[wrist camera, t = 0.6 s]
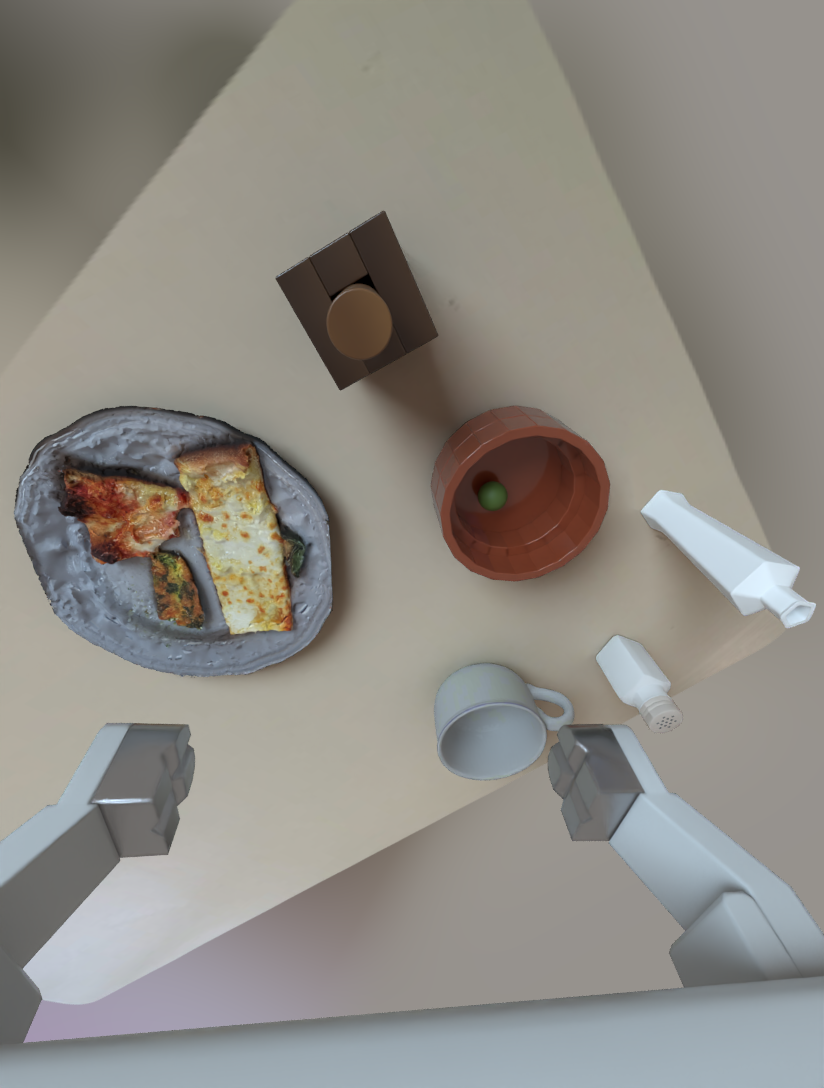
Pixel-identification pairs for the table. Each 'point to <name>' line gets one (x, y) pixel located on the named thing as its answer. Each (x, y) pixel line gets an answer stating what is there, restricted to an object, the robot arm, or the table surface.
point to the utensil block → (342, 266)
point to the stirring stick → (359, 322)
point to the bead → (492, 496)
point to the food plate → (176, 541)
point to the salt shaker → (639, 683)
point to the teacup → (493, 722)
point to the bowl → (519, 493)
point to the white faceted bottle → (730, 560)
